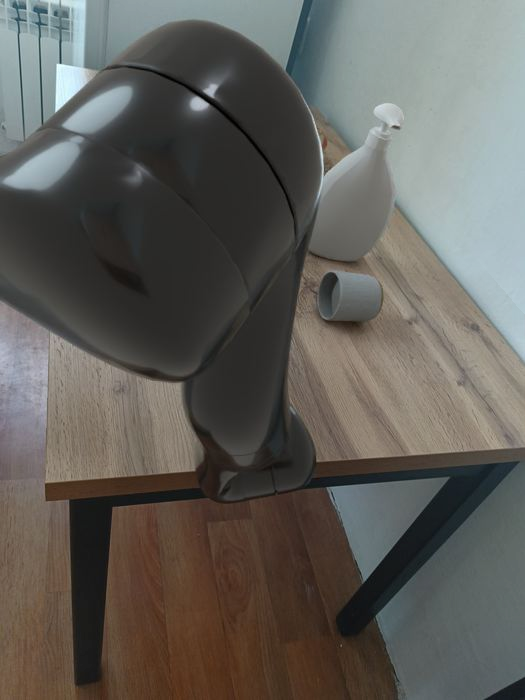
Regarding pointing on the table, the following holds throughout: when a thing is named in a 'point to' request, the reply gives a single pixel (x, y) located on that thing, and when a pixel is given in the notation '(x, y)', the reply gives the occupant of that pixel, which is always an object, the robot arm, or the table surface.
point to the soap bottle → (358, 195)
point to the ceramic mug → (349, 296)
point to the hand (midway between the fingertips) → (220, 242)
